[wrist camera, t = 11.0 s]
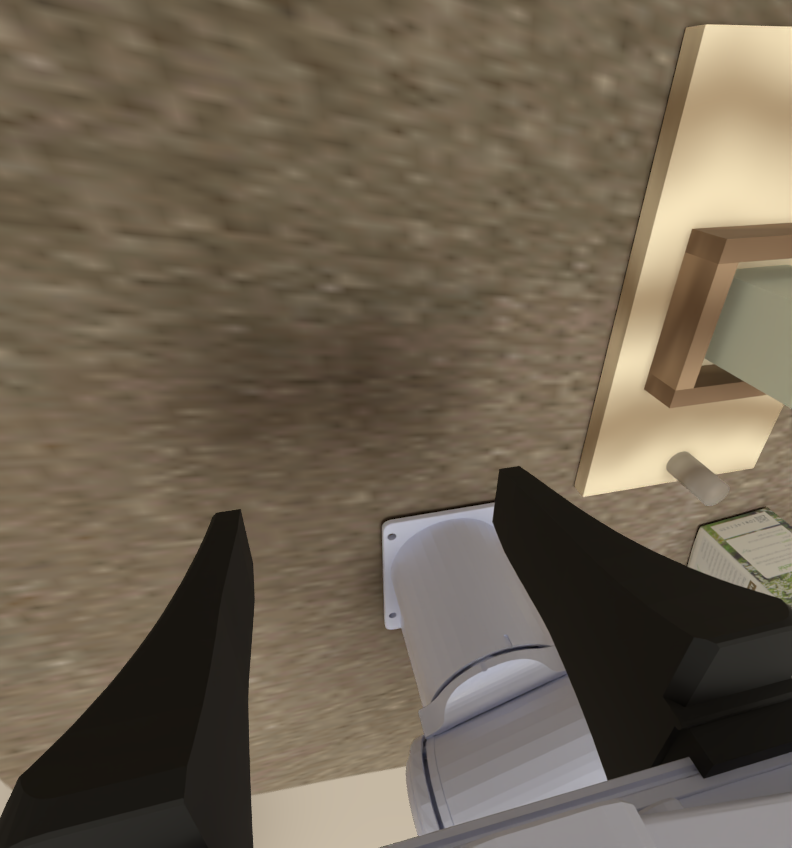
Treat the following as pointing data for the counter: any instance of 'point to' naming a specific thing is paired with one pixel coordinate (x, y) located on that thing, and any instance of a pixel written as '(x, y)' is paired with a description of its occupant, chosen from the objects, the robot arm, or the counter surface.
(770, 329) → the sage peg
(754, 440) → the socket plate
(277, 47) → the counter surface
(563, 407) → the counter surface
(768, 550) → the syrup box
